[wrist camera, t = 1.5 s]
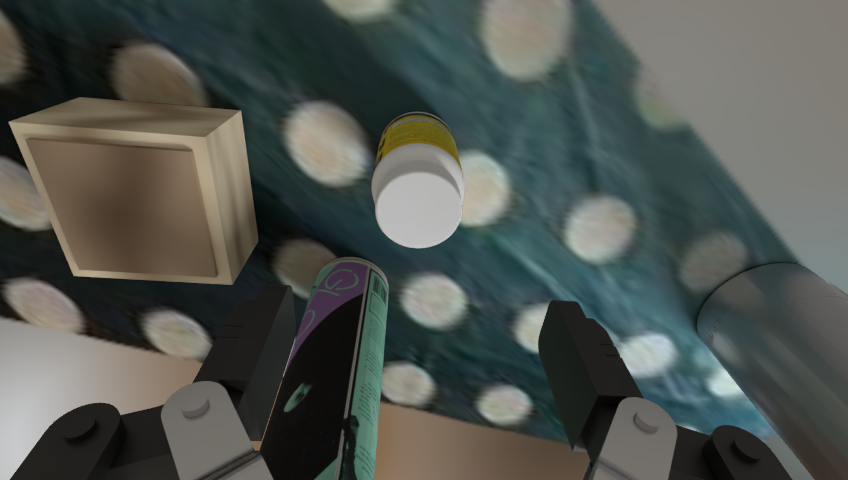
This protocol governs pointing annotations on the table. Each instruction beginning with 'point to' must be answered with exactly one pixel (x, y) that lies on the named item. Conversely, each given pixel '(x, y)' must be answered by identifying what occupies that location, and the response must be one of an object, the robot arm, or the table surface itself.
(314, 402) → the spray can
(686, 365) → the table surface
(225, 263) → the base block
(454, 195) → the supplement bottle
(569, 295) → the table surface
